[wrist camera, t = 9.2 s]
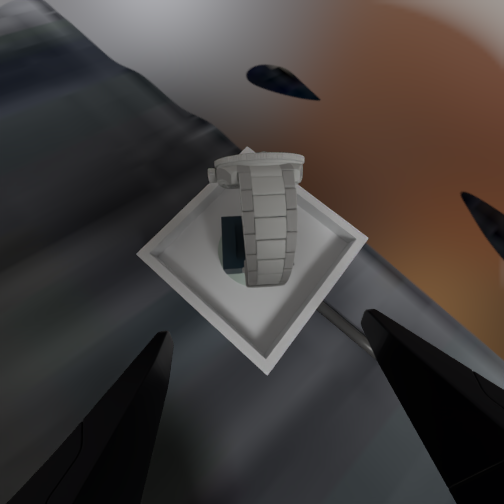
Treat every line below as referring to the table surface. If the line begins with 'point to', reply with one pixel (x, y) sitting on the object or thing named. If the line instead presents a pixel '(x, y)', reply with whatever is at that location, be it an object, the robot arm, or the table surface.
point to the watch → (260, 215)
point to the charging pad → (233, 285)
